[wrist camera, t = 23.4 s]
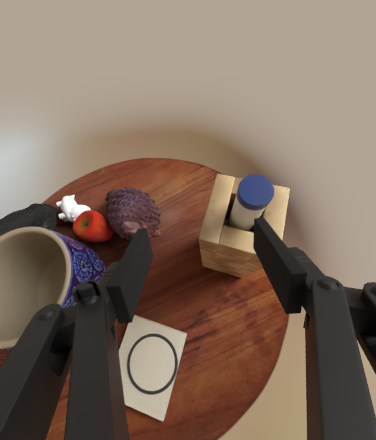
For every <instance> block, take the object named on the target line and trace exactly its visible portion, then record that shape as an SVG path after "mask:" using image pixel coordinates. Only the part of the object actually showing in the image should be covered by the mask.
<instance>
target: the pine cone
mask: <svg viewBox="0 0 376 440" xmlns="http://www.w3.org/2000/svg"><path fill="white" fill-rule="evenodd" d="M105 200H106V201H107V202H108V204H107V212H108V214H107V219H108V220H109V225H110V226H111V227H112V228H113V229H114V231H115V232H116V233H118V234H119V235H120V237H121V238H126V239H127V240H131V239H132V238H133V237H134V235H135V233H136V231H137V229H141V228H147V231H148V236H149V239H150V238H151V237H158V236H160V231H159V230H157V228H158V224H159V223H160V219H159V216H160V213H159V212H158V211H157V210H158V207H157V206H155V205H154V200H153V199H151V198H150V195H149V194H148V193H144V194H143V193H142V191H140V190H136V189H135V188H131V189H129V188H127V187H124V188H123V189H122V190H115V189H113V190H112V191H109V192H108V193H107V197H106V198H105Z"/></svg>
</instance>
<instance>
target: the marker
mask: <svg viewBox="0 0 376 440" xmlns="http://www.w3.org/2000/svg"><path fill="white" fill-rule="evenodd" d="M274 192H275V191H274V186H273V184H272V183H271V181H270V180H269V179H267V178H266V177H264V176H261V175H249V176H247V177H245V178H244V179H242V180H241V182H240V183H239V186H238V189H237V195H236V198H235V201H234V205H233V208H232V211H231V215H230V218H229V221H228V225H227V226H228V227H232V228H236V229H240V230H244V231H248V232H249V231H250V230H251V228H252V227H253V225H254V219H255V218H259V217H260V215H261V214H262V212H263V211H264V209H265V208H266V207H267V206H268V204H269V203H270V202H271V200H272V199H273V197H274Z"/></svg>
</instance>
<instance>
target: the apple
mask: <svg viewBox="0 0 376 440" xmlns="http://www.w3.org/2000/svg"><path fill="white" fill-rule="evenodd" d="M72 229H73V233H74V234H75V235H76V237H77V238H79V239H81V240H84V241H87V242H103V241H106V240H109V239H110V238H111V237H112V235H113V231H114V230H113V228H112V227H111V226H110V225H109V221H108V220H107V219H106V218H105V217H103V216H102V215H101V214H100V213H98V212H96V211H92V210H89V211H84V212H82V213H81V214H80V215H79V216H78V217H77V219H76V220H75V222H74V224H73V227H72Z"/></svg>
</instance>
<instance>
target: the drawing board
mask: <svg viewBox="0 0 376 440" xmlns="http://www.w3.org/2000/svg"><path fill="white" fill-rule="evenodd" d="M186 336H187V333H185V332H182V331H179V330H176V329H174V328H171V327H168V326H165V325H162V324H160V323H157V322H154V321H151V320H148V319H146V318H143V317H140V316H137V315H135V314H134V318H133V321H132V323H128V326H127V329H126V332H125V335H124V338H123V340H122V343H121V346H120V349H119V360H120V368H121V377H122V385H123V393H124V401H125V405H127V406H129V407H131V408H134V409H136V410H138V411H140V412H142V413H145V414H147V415H149V416H151V417H154V418H156V419H158V420H160V421H162V422H163V421H164V418H165V415H166V411H167V407H168V403H169V400H170V396H171V392H172V388H173V385H174V381H175V377H176V373H177V370H178V366H179V362H180V358H181V355H182V351H183V347H184V343H185V340H186Z"/></svg>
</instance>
